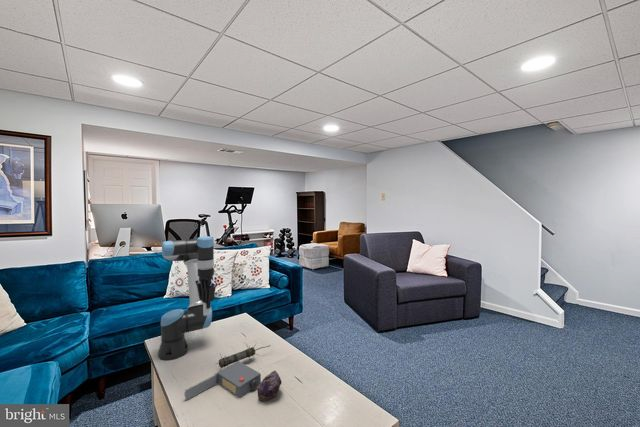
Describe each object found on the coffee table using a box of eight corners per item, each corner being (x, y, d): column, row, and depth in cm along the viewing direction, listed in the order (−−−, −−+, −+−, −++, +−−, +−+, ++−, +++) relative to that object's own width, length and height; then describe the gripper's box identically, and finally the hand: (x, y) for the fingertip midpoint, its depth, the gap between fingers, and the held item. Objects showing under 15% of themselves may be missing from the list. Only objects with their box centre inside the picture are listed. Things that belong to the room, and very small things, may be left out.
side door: (216, 382, 132) (216, 372, 131) (218, 383, 131) (217, 374, 130) (184, 399, 120) (184, 388, 120) (185, 400, 119) (185, 390, 119)
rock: (255, 401, 121) (274, 408, 117) (252, 384, 120) (271, 390, 115) (270, 381, 131) (288, 387, 127) (268, 365, 130) (286, 370, 126)
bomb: (217, 352, 136) (271, 333, 156) (211, 354, 144) (263, 336, 163) (222, 376, 133) (276, 354, 152) (215, 377, 140) (268, 356, 159)
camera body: (216, 383, 131) (216, 371, 131) (238, 370, 141) (238, 359, 141) (241, 399, 120) (241, 386, 120) (263, 385, 130) (262, 373, 130)
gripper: (221, 267, 138) (221, 314, 139) (203, 265, 144) (203, 309, 145) (208, 271, 132) (209, 319, 133) (190, 268, 138) (191, 314, 138)
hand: (206, 314), depth 139 cm, fingers closed
